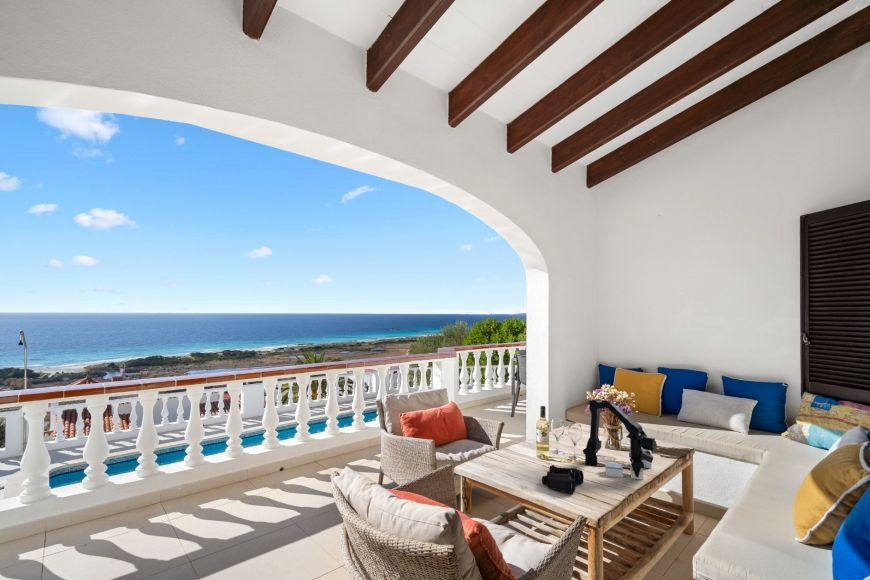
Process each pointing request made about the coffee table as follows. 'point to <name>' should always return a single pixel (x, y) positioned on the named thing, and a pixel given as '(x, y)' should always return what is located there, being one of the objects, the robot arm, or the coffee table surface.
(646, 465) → the photo printer
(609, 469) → the ticket book
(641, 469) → the stub
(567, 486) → the binoculars
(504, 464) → the coffee table surface
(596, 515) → the coffee table surface
